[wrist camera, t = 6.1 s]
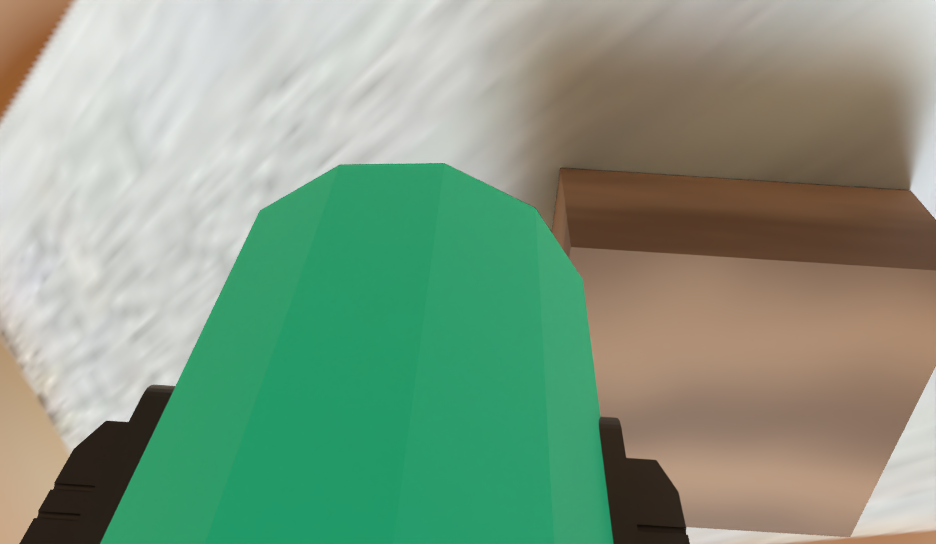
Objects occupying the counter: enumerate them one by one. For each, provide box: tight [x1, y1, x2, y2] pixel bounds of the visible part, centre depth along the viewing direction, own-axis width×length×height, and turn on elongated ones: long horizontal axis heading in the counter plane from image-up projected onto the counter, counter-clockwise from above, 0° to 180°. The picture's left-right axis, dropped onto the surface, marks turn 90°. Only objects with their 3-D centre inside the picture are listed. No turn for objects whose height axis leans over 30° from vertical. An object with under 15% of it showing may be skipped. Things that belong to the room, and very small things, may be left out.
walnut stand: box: [552, 168, 936, 537], centre depth 29 cm, size 12×12×5 cm
